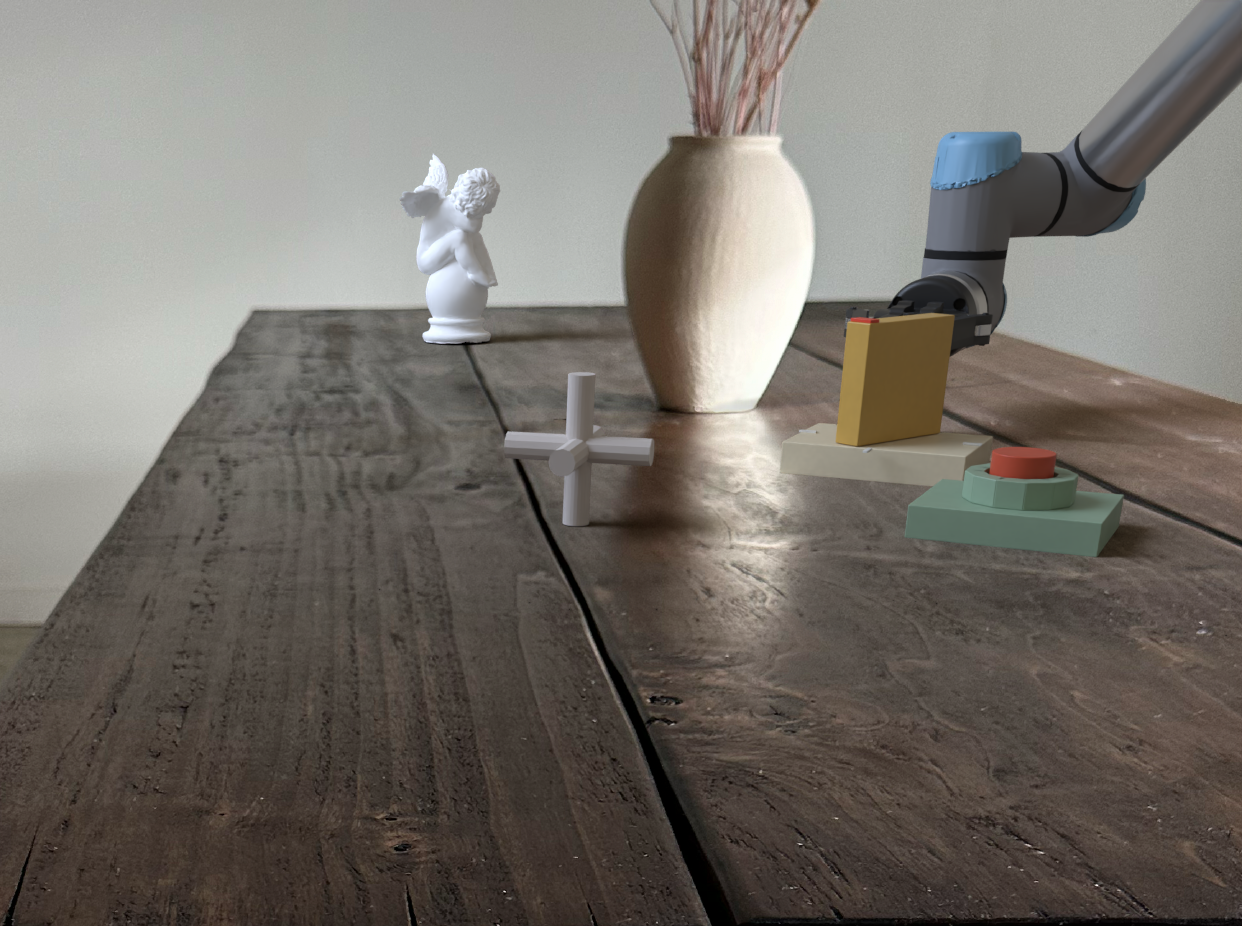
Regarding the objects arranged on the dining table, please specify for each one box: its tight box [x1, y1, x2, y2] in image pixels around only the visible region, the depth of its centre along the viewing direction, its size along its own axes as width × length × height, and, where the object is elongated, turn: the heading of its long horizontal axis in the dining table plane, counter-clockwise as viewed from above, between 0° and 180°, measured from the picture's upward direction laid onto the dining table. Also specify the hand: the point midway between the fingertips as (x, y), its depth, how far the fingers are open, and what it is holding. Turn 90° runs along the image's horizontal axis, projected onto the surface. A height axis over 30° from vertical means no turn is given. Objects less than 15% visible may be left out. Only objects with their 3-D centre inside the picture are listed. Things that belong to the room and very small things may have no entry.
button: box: [989, 446, 1057, 479], centre depth 111 cm, size 4×4×2 cm
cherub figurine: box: [399, 152, 501, 345], centre depth 209 cm, size 12×12×22 cm
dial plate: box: [779, 422, 994, 488], centre depth 133 cm, size 14×14×3 cm
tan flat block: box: [835, 313, 955, 446], centre depth 130 cm, size 10×2×9 cm, turn 126°
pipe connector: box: [503, 371, 655, 527], centre depth 114 cm, size 10×10×10 cm
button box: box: [904, 462, 1125, 558], centre depth 112 cm, size 12×10×4 cm
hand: (870, 345), depth 135 cm, fingers closed
